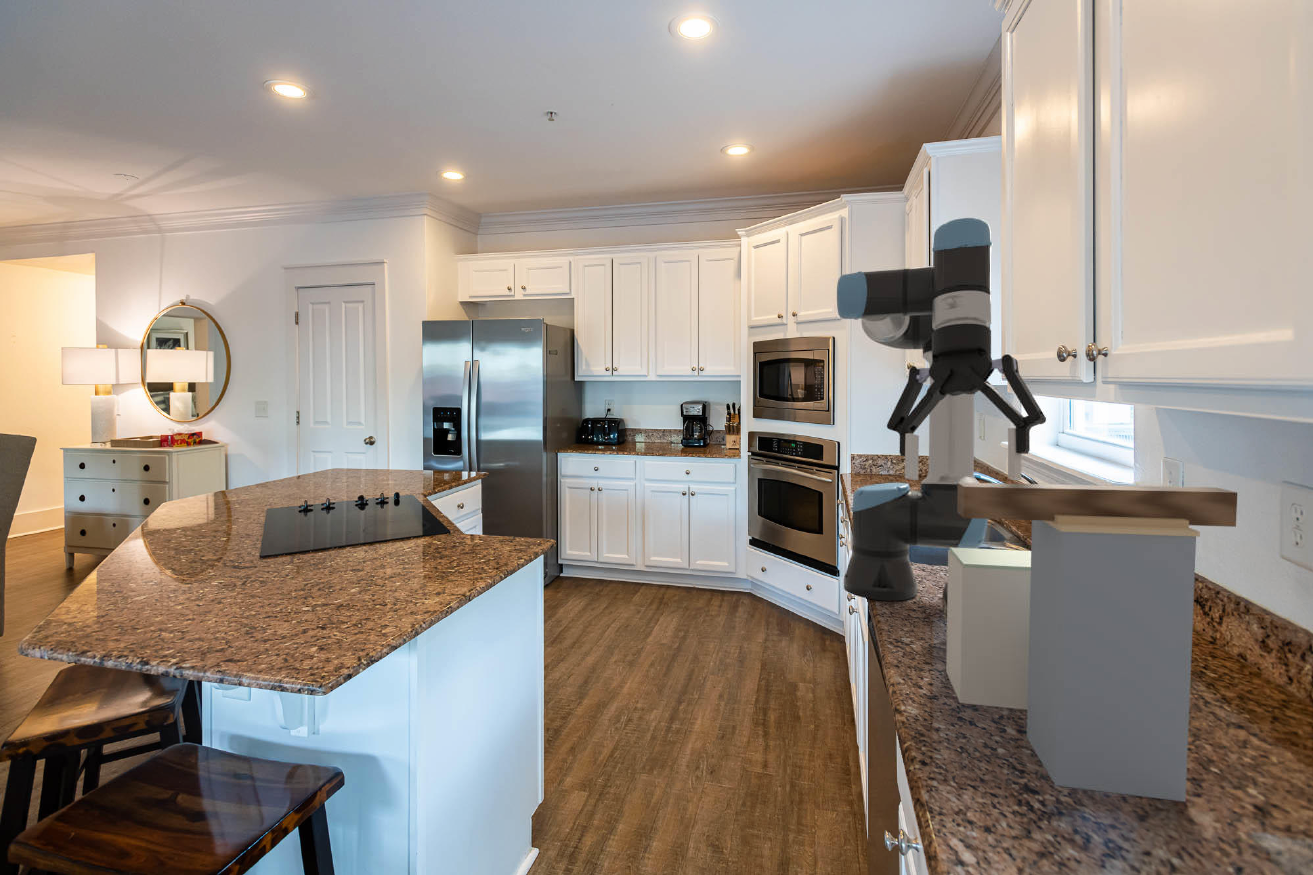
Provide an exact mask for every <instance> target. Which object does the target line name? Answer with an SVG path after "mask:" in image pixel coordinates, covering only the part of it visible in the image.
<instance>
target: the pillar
mask: <svg viewBox="0 0 1313 875" xmlns="http://www.w3.org/2000/svg"><path fill="white" fill-rule="evenodd" d="M1200 535H1201V531H1199V530H1196V529H1193V528H1191V527H1190V525H1189V521H1188V520H1185V519H1170V518H1137V517H1103V516H1070V515H1055V521H1041V520H1031V543H1030V544H1031V548H1030V549H1031V550H1030V551H1031V582H1030V624H1029V666H1028V708H1027V710H1026V712H1027V713H1026V714H1027V715H1026V716H1027V717H1026V739H1027V740H1028V742H1029V743H1030V746H1031V747H1032V749H1033V750H1034V753H1036V756H1037V757H1038V758H1039V760H1040V762H1041V764H1042V765H1043V767H1044V769H1045V770H1046V772H1047V773H1048V775H1049V777H1050V779H1051V780H1052V782H1053V784H1054V785H1055V786H1057V787H1064V788H1065V787H1067V788H1073V789H1080V790H1087V791H1088V790H1090V791H1096V792H1097V791H1098V792H1104V793H1105V792H1106V793H1111V794H1118V795H1119V794H1121V795H1129V796H1135V797H1136V796H1137V797H1144V798H1153V799H1160V800H1168V801H1174V802H1175V801H1176V802H1184V803H1186V801H1187V800H1186V796H1187V795H1186V794H1187V777H1188V776H1187V774H1188V773H1187V772H1188V750H1189V749H1188V748H1189V725H1190V724H1189V722H1190V719H1189V718H1190V703H1191V702H1190V699H1191V698H1190V696H1191V676H1192V675H1191V674H1192V673H1191V672H1192V649H1193V625H1194V624H1193V622H1194V599H1195V576H1196V575H1195V574H1196V550H1197V537H1201V536H1200Z"/></svg>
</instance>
